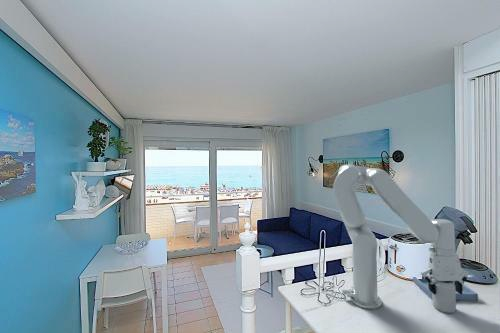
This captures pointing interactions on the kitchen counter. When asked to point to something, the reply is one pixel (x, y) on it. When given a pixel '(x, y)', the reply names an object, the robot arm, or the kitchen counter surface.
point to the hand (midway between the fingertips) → (445, 292)
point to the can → (444, 296)
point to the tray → (466, 293)
